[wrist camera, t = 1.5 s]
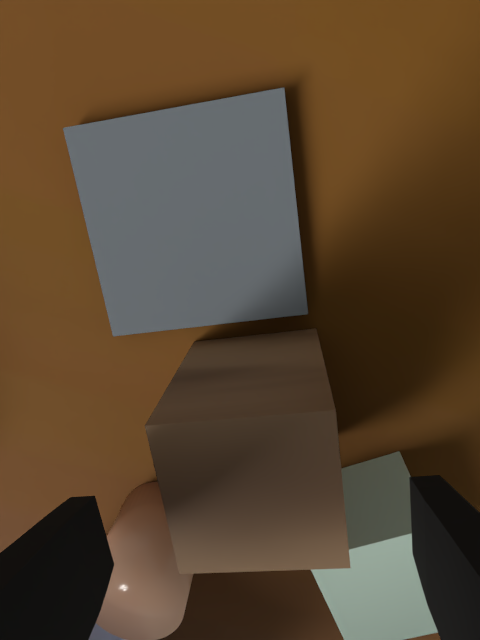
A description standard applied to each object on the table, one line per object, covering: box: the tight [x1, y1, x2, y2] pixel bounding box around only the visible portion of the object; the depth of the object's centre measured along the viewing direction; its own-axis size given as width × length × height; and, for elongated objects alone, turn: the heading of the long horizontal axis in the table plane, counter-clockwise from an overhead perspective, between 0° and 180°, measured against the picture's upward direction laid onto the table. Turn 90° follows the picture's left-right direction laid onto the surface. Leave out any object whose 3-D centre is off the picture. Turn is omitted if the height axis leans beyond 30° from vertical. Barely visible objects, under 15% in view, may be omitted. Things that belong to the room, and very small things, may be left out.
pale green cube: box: [311, 451, 438, 640], centre depth 15 cm, size 4×4×4 cm
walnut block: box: [145, 328, 351, 574], centre depth 13 cm, size 4×4×6 cm
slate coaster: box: [63, 88, 308, 336], centre depth 14 cm, size 7×7×1 cm
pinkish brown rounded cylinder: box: [96, 482, 193, 640], centre depth 17 cm, size 4×4×4 cm
